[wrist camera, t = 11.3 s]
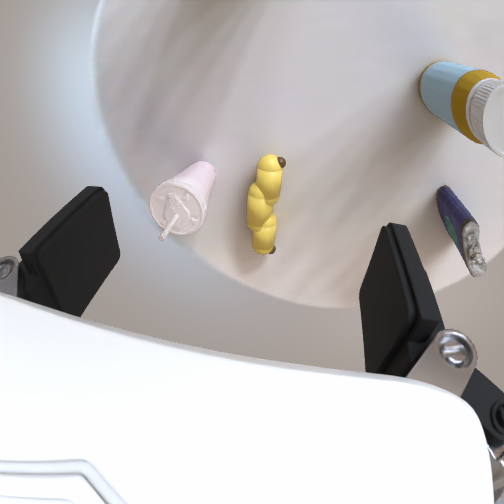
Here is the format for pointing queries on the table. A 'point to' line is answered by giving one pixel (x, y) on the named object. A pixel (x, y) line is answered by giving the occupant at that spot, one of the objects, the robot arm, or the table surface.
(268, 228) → the yellow lumpy bar
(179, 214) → the smoothie
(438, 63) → the bottle
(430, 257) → the table surface
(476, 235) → the flask
